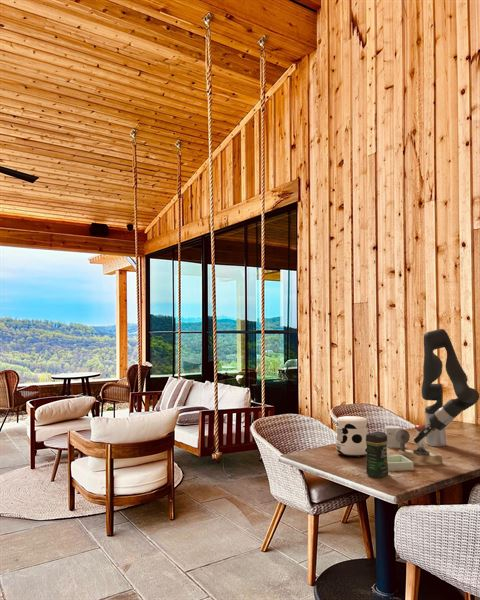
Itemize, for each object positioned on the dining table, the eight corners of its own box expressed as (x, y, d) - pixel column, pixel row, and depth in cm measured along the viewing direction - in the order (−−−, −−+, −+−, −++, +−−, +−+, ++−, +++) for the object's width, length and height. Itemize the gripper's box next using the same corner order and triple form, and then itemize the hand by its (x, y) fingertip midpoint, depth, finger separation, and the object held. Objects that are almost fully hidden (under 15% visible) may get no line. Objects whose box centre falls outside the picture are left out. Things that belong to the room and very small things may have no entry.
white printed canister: (375, 452, 237) (373, 417, 238) (364, 460, 222) (363, 423, 223) (343, 448, 246) (342, 414, 247) (330, 456, 232) (329, 420, 233)
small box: (399, 445, 251) (399, 425, 252) (402, 447, 246) (401, 428, 246) (385, 445, 252) (384, 425, 253) (387, 447, 246) (386, 427, 247)
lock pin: (423, 452, 221) (422, 424, 222) (428, 455, 216) (427, 426, 217) (414, 452, 220) (413, 424, 221) (418, 455, 216) (417, 426, 217)
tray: (401, 462, 219) (401, 455, 219) (413, 469, 207) (413, 462, 207) (377, 463, 218) (377, 456, 218) (388, 470, 206) (387, 463, 206)
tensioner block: (429, 457, 227) (428, 427, 228) (442, 464, 215) (441, 432, 216) (394, 458, 226) (393, 428, 226) (406, 465, 214) (404, 434, 215)
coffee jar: (379, 479, 194) (378, 435, 195) (363, 475, 200) (362, 432, 201) (391, 474, 201) (390, 431, 202) (375, 470, 207) (374, 429, 208)
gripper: (440, 409, 220) (415, 431, 227) (431, 414, 209) (405, 437, 216) (452, 422, 217) (427, 444, 224) (443, 427, 206) (417, 450, 213)
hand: (416, 440), depth 220 cm, fingers closed on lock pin, 3 cm apart
